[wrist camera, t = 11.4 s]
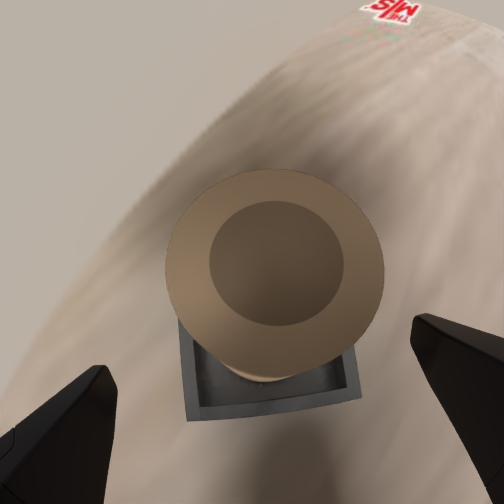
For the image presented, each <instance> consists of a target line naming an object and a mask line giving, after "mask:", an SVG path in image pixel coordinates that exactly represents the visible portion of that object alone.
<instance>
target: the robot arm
mask: <svg viewBox="0 0 504 504" xmlns="http://www.w3.org/2000/svg"><path fill="white" fill-rule="evenodd" d="M410 343H411V347H412V349H413V351H414V353H415V355H416V357H417V359H418V361H419V363H420V366H421V368H422V370H423V372H424V374H425V376H426V379H427V381H428V383H429V384H430V386H431V388H432V390H433V391H434V393H435V395H436V397H437V398H438V400H439V402H440V403H441V405H442V407H443V409H444V410H445V412H446V414H447V416H448V417H449V419H450V421H451V423H452V424H453V426H454V428H455V430H456V432H457V433H458V435H459V437H460V439H461V441H462V443H463V445H464V446H465V448H466V450H467V452H468V454H469V456H470V458H471V460H472V462H473V464H474V466H475V468H476V470H477V471H478V473H479V475H480V478H481V480H482V482H483V484H484V486H485V487H486V490H487V492H488V494H489V497H490V499H491V501H492V503H493V504H504V338H502V337H499V336H496V335H493V334H490V333H486V332H483V331H480V330H477V329H474V328H471V327H468V326H465V325H462V324H459V323H456V322H453V321H450V320H447V319H444V318H441V317H437V316H434V315H431V314H428V313H424V314H420V315H416V316H415V317H414V319H413V323H412V330H411V336H410ZM117 395H118V390H117V386H116V384H115V381H114V379H113V377H112V375H111V373H110V371H109V369H108V367H107V366H106V365H93V366H92V367H90V368H89V369H88V370H86V371H85V372H84V373H83V374H81V375H80V376H79V377H77V378H76V379H75V380H74V381H72V382H71V383H70V384H68V385H67V386H66V387H65V388H63V389H62V390H61V391H59V392H58V393H57V394H56V395H54V396H53V397H52V398H50V399H49V400H48V401H47V402H45V403H44V404H43V405H41V406H40V407H39V408H38V409H36V410H35V411H34V412H33V413H31V414H30V415H29V416H27V417H26V418H25V419H24V420H22V421H21V422H20V423H19V424H17V425H16V426H15V428H12V429H11V430H10V431H8V432H7V433H6V434H4V435H3V436H2V437H1V438H0V504H104V497H105V489H106V482H107V476H108V469H109V463H110V457H111V451H112V446H113V440H114V432H115V419H116V406H117Z"/></svg>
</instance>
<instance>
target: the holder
mask: <svg viewBox="0 0 504 504" xmlns="http://www.w3.org/2000/svg"><path fill="white" fill-rule="evenodd" d="M178 325H179V341H180V355H181V367H182V379H183V389H184V400H185V409H186V418H187V421H207V420H222V419H234V418H245V417H254V416H263V415H271V414H278V413H285V412H292V411H298V410H304V409H310V408H316V407H321V406H326V405H331V404H336V403H341V402H346V401H350V400H354V399H359V398H362V394H361V387H360V381H359V374H358V368H357V362H356V356H355V351H354V345H352V346H351V347H350V348H349V349H348V350H346V351H345V352H344V353H343V354H341V355H340V356H338V357H336V358H335V359H333V360H331V361H330V362H328V363H325V364H323V365H321V366H318V367H316V368H313V369H311V370H308V371H305V372H302V373H299V374H296V375H293V376H290V377H287V378H284V379H281V380H278V381H274V382H267V383H260V382H253V381H250V380H247V379H244V378H242V377H240V376H239V375H237V374H236V373H234V372H233V371H232V370H230V369H229V368H228V367H227V366H225V365H224V364H223V363H222V362H220V361H219V360H218V359H217V358H215V357H214V356H213V355H212V354H210V353H209V352H208V351H207V350H206V349H204V348H203V347H202V346H201V345H200V344H199V343H198V342H196V341H195V340H194V338H193V337H192V336H191V335H190V334H189V333H188V331H187V330H186V329H185V328H184V326H183V324H182V323H181V321H180V320H179V318H178Z"/></svg>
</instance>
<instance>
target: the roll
mask: <svg viewBox="0 0 504 504" xmlns="http://www.w3.org/2000/svg"><path fill="white" fill-rule="evenodd" d="M165 275H166V283H167V290H168V293H169V297H170V300H171V303H172V306H173V308H174V310H175V312H176V315H177V316H178V318H179V320H180V321H181V323H182V324H183V326H184V328H185V329H186V330H187V331H188V333H189V334H190V335H191V336H192V337H193V338H194V340H195V341H196V342H198V343H199V344H200V345H201V346H202V347H203V348H204V349H206V350H207V351H208V352H209V353H210V354H212V355H213V356H214V357H215V358H217V359H218V360H219V361H220V362H222V363H223V364H224V365H225V366H227V367H228V368H229V369H230V370H232V371H233V372H234V373H236V374H237V375H239V376H240V377H242V378H244V379H247V380H250V381H253V382H260V383H267V382H274V381H278V380H281V379H284V378H287V377H290V376H293V375H296V374H299V373H302V372H305V371H308V370H311V369H313V368H316V367H318V366H321V365H323V364H325V363H328V362H330V361H331V360H333V359H335V358H336V357H338V356H340V355H341V354H343V353H344V352H345V351H346V350H348V349H349V348H350V347H351V346H352V345H354V344H355V343H356V341H357V340H358V339H359V338H360V337H361V336H362V335H363V334H364V332H365V331H366V329H367V328H368V326H369V325H370V323H371V322H372V320H373V318H374V316H375V314H376V312H377V310H378V307H379V304H380V300H381V297H382V293H383V286H384V261H383V254H382V250H381V246H380V243H379V240H378V238H377V235H376V233H375V231H374V229H373V227H372V225H371V223H370V222H369V220H368V219H367V217H366V216H365V214H364V213H363V212H362V210H361V209H360V208H359V207H358V206H357V205H356V204H355V203H354V202H353V201H352V200H351V199H350V198H349V197H348V196H347V195H345V194H344V193H343V192H342V191H340V190H339V189H337V188H336V187H334V186H333V185H331V184H329V183H327V182H325V181H323V180H321V179H319V178H316V177H314V176H311V175H308V174H304V173H301V172H297V171H290V170H283V169H264V170H255V171H249V172H245V173H241V174H238V175H234V176H232V177H230V178H227V179H225V180H223V181H221V182H219V183H217V184H215V185H214V186H212V187H210V188H209V189H208V190H206V191H205V192H204V193H202V194H201V195H200V196H199V197H198V198H197V199H196V200H195V201H193V202H192V203H191V205H190V206H189V207H188V208H187V209H186V211H185V212H184V213H183V215H182V216H181V218H180V220H179V221H178V223H177V225H176V227H175V229H174V231H173V233H172V236H171V239H170V242H169V245H168V249H167V256H166V271H165Z"/></svg>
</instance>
